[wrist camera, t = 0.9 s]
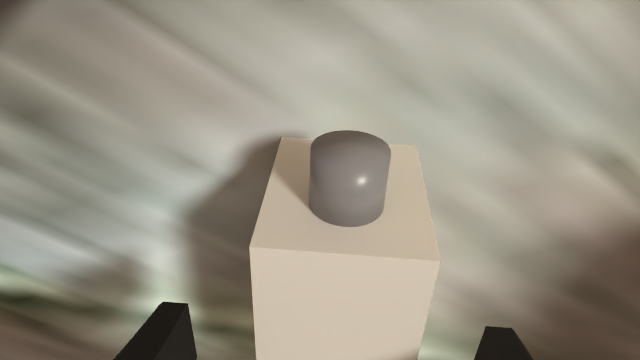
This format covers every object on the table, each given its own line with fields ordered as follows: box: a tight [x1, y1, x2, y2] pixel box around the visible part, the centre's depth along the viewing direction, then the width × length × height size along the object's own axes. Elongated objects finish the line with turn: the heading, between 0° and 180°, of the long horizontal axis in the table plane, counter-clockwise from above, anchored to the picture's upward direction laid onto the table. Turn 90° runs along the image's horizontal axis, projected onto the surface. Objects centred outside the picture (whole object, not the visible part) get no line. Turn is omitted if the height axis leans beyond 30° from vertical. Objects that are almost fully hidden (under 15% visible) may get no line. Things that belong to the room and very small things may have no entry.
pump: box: [249, 130, 441, 360], centre depth 13 cm, size 4×8×5 cm, turn 178°
